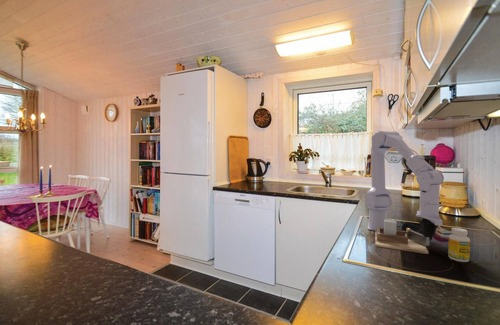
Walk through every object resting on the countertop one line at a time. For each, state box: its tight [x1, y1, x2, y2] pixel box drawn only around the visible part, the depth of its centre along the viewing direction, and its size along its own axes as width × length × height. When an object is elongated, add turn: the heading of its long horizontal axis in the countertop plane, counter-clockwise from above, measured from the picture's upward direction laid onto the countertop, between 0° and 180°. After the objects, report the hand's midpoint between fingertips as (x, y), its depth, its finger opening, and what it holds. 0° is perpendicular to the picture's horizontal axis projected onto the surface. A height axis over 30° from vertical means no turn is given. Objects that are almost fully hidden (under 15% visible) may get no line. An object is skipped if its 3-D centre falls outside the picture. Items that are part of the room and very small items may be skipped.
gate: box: [405, 227, 430, 247], centre depth 94 cm, size 10×1×3 cm, turn 6°
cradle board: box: [374, 228, 429, 255], centre depth 96 cm, size 18×16×3 cm
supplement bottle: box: [447, 227, 471, 263], centre depth 81 cm, size 5×5×10 cm
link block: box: [384, 218, 398, 235], centre depth 97 cm, size 4×4×7 cm
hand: (427, 240), depth 92 cm, fingers closed, pressing on gate
